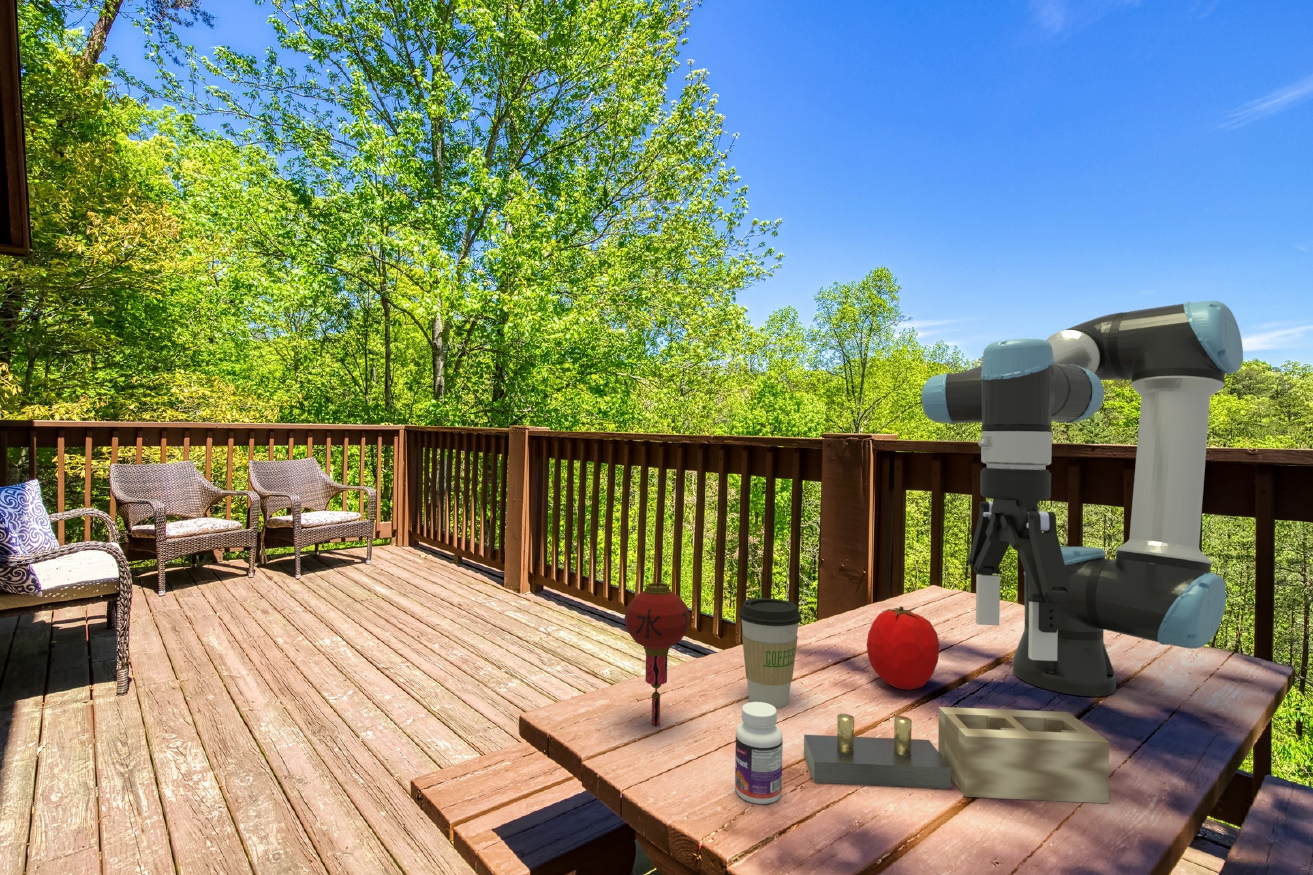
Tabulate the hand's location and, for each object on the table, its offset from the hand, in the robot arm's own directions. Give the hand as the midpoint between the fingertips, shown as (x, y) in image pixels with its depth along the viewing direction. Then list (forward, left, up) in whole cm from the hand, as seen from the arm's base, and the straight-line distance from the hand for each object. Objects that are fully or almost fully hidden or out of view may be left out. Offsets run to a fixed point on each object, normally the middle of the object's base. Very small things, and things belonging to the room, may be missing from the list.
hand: (1012, 640), depth 77 cm
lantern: (+44, -11, -17) cm, 49 cm away
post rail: (+16, -1, -17) cm, 23 cm away
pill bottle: (+31, +6, -17) cm, 36 cm away
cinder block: (-1, 0, -17) cm, 17 cm away
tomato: (+3, -29, -17) cm, 34 cm away
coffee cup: (+27, -21, -17) cm, 38 cm away
